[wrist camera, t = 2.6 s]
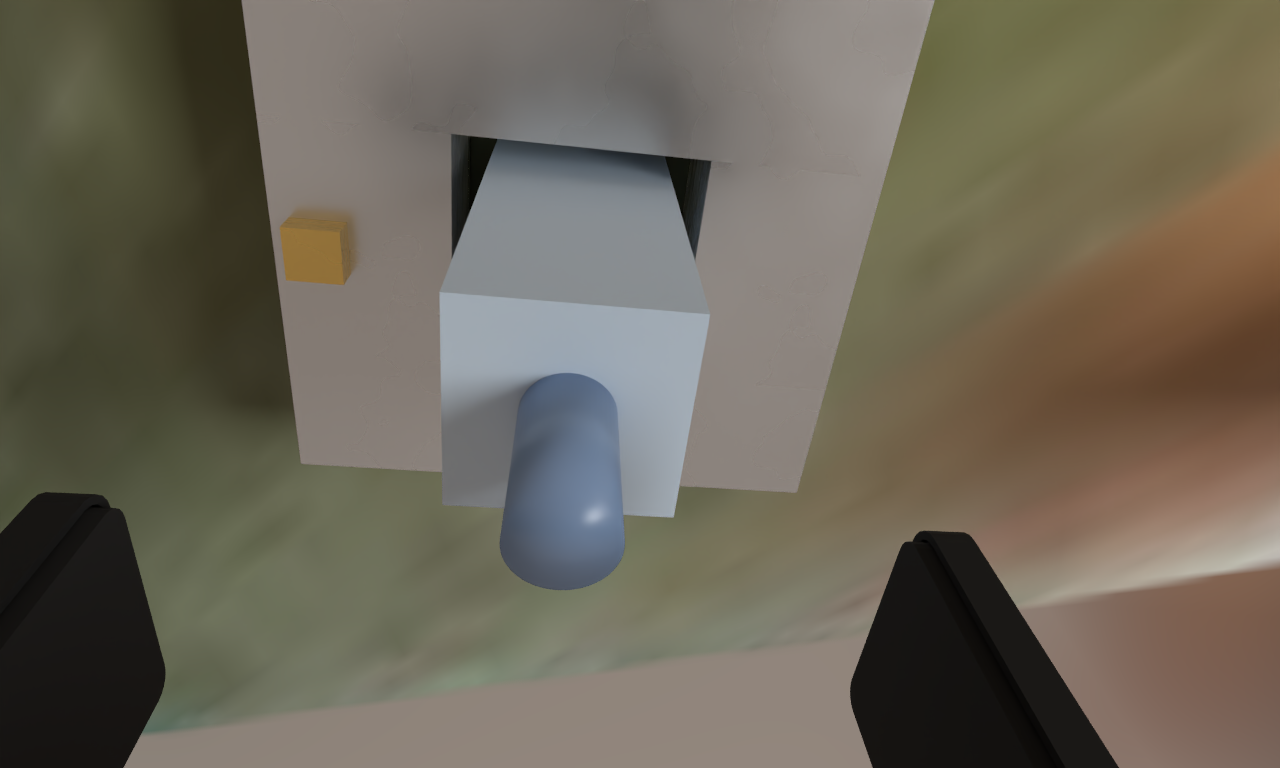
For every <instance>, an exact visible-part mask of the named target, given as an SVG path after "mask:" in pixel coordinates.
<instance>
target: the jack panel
mask: <svg viewBox="0 0 1280 768" xmlns="http://www.w3.org/2000/svg"><path fill="white" fill-rule="evenodd" d="M933 4H934V0H242V7H243V15H244V23H245V31H246V38H247V46H248V54H249V62H250V70H251V77H252V85H253V93H254V101H255V109H256V116H257V124H258V132H259V140H260V147H261V155H262V163H263V171H264V179H265V186H266V194H267V202H268V210H269V217H270V225H271V233H272V241H273V249H274V256H275V264H276V272H277V280H278V287H279V295H280V303H281V311H282V319H283V326H284V334H285V342H286V350H287V358H288V365H289V373H290V381H291V389H292V396H293V404H294V412H295V420H296V428H297V435H298V443H299V451H300V459H301V464H314V465H332V466H349V467H366V468H383V469H400V470H417V471H434V472H442V431H441V360H440V290H441V287H442V284H443V282H444V279H445V276H446V274H447V271H448V268H449V266H450V263H451V261H452V258H453V255H454V253H455V250H456V247H457V245H458V242H459V239H460V237H461V234H462V231H463V229H464V226H465V224H466V221H467V218H468V216H469V160H470V136H476V137H486V138H496V139H505V140H515V141H525V142H534V143H544V144H554V145H563V146H573V147H583V148H592V149H602V150H612V151H621V152H631V153H641V154H650V155H660V156H670V157H679V158H689V159H690V166H689V172H688V179H687V186H686V192H685V199H684V206H683V212H682V218H683V222H684V225H685V229H686V232H687V236H688V239H689V242H690V246H691V249H692V253H693V256H694V260H695V263H696V267H697V270H698V274H699V277H700V280H701V284H702V287H703V291H704V294H705V298H706V301H707V305H708V308H709V312H710V319H709V325H708V330H707V336H706V341H705V347H704V352H703V358H702V363H701V369H700V374H699V380H698V385H697V391H696V396H695V402H694V407H693V413H692V418H691V424H690V429H689V435H688V440H687V446H686V451H685V457H684V463H683V468H682V474H681V479H680V485H679V486H691V487H708V488H725V489H742V490H759V491H776V492H793V493H797V490H798V486H799V482H800V479H801V475H802V472H803V468H804V465H805V461H806V457H807V454H808V450H809V447H810V443H811V440H812V436H813V432H814V429H815V425H816V422H817V418H818V415H819V411H820V407H821V404H822V400H823V397H824V393H825V390H826V386H827V382H828V379H829V375H830V372H831V368H832V365H833V361H834V357H835V354H836V350H837V347H838V343H839V340H840V336H841V332H842V329H843V325H844V322H845V318H846V315H847V311H848V307H849V304H850V300H851V297H852V293H853V290H854V286H855V282H856V279H857V275H858V272H859V268H860V265H861V261H862V257H863V254H864V250H865V247H866V243H867V240H868V236H869V232H870V229H871V225H872V222H873V218H874V215H875V211H876V207H877V204H878V200H879V197H880V193H881V190H882V186H883V182H884V179H885V175H886V172H887V168H888V165H889V161H890V157H891V154H892V150H893V147H894V143H895V140H896V136H897V132H898V129H899V125H900V122H901V118H902V115H903V111H904V107H905V104H906V100H907V97H908V93H909V90H910V86H911V82H912V79H913V75H914V72H915V68H916V65H917V61H918V57H919V54H920V50H921V47H922V43H923V40H924V36H925V32H926V29H927V25H928V22H929V18H930V15H931V11H932V7H933Z"/></svg>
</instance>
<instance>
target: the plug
mask: <svg viewBox="0 0 1280 768" xmlns="http://www.w3.org/2000/svg"><path fill="white" fill-rule="evenodd" d="M709 319H710V312H709V308H708V305H707V301H706V298H705V294H704V291H703V287H702V284H701V280H700V277H699V274H698V270H697V267H696V263H695V260H694V256H693V253H692V249H691V246H690V242H689V239H688V236H687V232H686V229H685V225H684V222H683V218H682V215H681V211H680V208H679V204H678V201H677V198H676V194H675V191H674V187H673V184H672V180H671V177H670V173H669V170H668V166H667V163H666V159H665V156H660V155H650V154H641V153H631V152H621V151H612V150H602V149H592V148H583V147H573V146H563V145H554V144H544V143H534V142H525V141H515V140H505V139H497V142H496V144H495V147H494V149H493V152H492V155H491V157H490V160H489V163H488V165H487V168H486V171H485V173H484V176H483V179H482V181H481V184H480V186H479V189H478V192H477V194H476V197H475V200H474V202H473V205H472V208H471V210H470V213H469V216H468V218H467V221H466V224H465V226H464V229H463V231H462V234H461V237H460V239H459V242H458V245H457V247H456V250H455V253H454V255H453V258H452V261H451V263H450V266H449V268H448V271H447V274H446V276H445V279H444V282H443V284H442V287H441V290H440V360H441V431H442V502H443V505H453V506H472V507H490V508H504V514H503V522H502V529H501V536H500V550H501V555H502V557H503V559H504V561H505V563H506V565H507V566H508V567H509V568H510V570H511V571H512V572H513V573H515V574H516V575H517V576H518V577H520V578H521V579H522V580H524V581H526V582H528V583H530V584H533V585H535V586H538V587H542V588H546V589H553V590H572V589H578V588H583V587H586V586H589V585H592V584H594V583H596V582H598V581H600V580H602V579H603V578H605V577H606V576H608V575H609V574H610V573H611V572H612V571H613V570H614V569H615V568H616V567H617V565H618V564H619V562H620V560H621V558H622V556H623V552H624V547H625V538H624V520H623V515H638V516H656V517H674V512H675V507H676V501H677V496H678V490H679V485H680V479H681V474H682V468H683V463H684V457H685V451H686V446H687V440H688V435H689V429H690V424H691V418H692V413H693V407H694V402H695V396H696V391H697V385H698V380H699V374H700V369H701V363H702V358H703V352H704V347H705V341H706V336H707V330H708V325H709Z"/></svg>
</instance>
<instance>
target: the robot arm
mask: <svg viewBox="0 0 1280 768" xmlns="http://www.w3.org/2000/svg"><path fill="white" fill-rule="evenodd" d="M164 682H165V664H164V661H163V657H162V653H161V650H160V646H159V642H158V638H157V635H156V631H155V627H154V624H153V620H152V616H151V612H150V609H149V605H148V601H147V598H146V594H145V590H144V586H143V583H142V579H141V575H140V572H139V568H138V564H137V560H136V557H135V553H134V549H133V546H132V542H131V538H130V534H129V531H128V527H127V523H126V520H125V517H124V514H123V512H122V511H121V510H120V509H116V508H110V505H109V503H108V501H107V500H106V499H105V498H104V497H103V496H101V495H96V494H73V493H50V492H45V493H42V494H39V495H37V496H36V497H35V498H33V499H32V500H31V501H30V502H29V503H28V504H27V505H26V506H25V507H24V508H23V510H22V511H21V512H20V513H19V514H18V515H17V516H16V517H15V518H14V519H13V520H12V521H11V523H10V524H9V525H8V526H7V527H6V528H5V529H4V530H3V531H2V532H1V533H0V768H123V767H124V766H125V764H126V762H127V760H128V758H129V756H130V754H131V752H132V750H133V748H134V747H135V744H136V743H137V741H138V739H139V737H140V735H141V733H142V731H143V729H144V728H145V726H146V724H147V722H148V720H149V718H150V716H151V714H152V712H153V710H154V709H155V707H156V705H157V703H158V701H159V699H160V696H161V694H162V691H163V687H164ZM850 696H851V697H850V698H851V705H852V709H853V712H854V715H855V718H856V721H857V724H858V727H859V729H860V732H861V735H862V738H863V741H864V744H865V747H866V750H867V752H868V755H869V758H870V761H871V764H872V767H873V768H1119V767H1118V766H1117V764H1116V763H1115V761H1114V759H1113V758H1112V756H1111V755H1110V753H1109V751H1108V750H1107V749H1106V747H1105V745H1104V744H1103V742H1102V741H1101V739H1100V738H1099V736H1098V734H1097V733H1096V731H1095V730H1094V728H1093V726H1092V725H1091V723H1090V722H1089V720H1088V719H1087V717H1086V715H1085V714H1084V712H1083V711H1082V709H1081V708H1080V706H1079V705H1078V703H1077V701H1076V700H1075V698H1074V697H1073V695H1072V693H1071V692H1070V690H1069V689H1068V687H1067V685H1066V684H1065V682H1064V681H1063V679H1062V678H1061V676H1060V675H1059V673H1058V671H1057V670H1056V668H1055V667H1054V665H1053V664H1052V662H1051V660H1050V659H1049V657H1048V656H1047V654H1046V653H1045V651H1044V649H1043V648H1042V646H1041V645H1040V643H1039V641H1038V640H1037V638H1036V637H1035V635H1034V634H1033V632H1032V630H1031V629H1030V627H1029V626H1028V624H1027V623H1026V621H1025V619H1024V618H1023V616H1022V615H1021V613H1020V612H1019V610H1018V608H1017V607H1016V605H1015V604H1014V602H1013V601H1012V599H1011V597H1010V596H1009V594H1008V593H1007V591H1006V590H1005V588H1004V586H1003V585H1002V583H1001V582H1000V580H999V579H998V577H997V575H996V574H995V572H994V571H993V569H992V568H991V566H990V564H989V563H988V561H987V560H986V558H985V556H984V555H983V553H982V552H981V550H980V549H979V547H978V545H977V544H976V542H975V541H974V540H973V539H972V537H971V536H970V535H968V534H966V533H963V532H940V531H920V532H919V533H918V534H917V535H916V536H915V538H914V540H913V542H905V543H904V544H903V545H902V547H901V549H900V551H899V554H898V556H897V559H896V562H895V564H894V567H893V570H892V572H891V575H890V578H889V581H888V583H887V586H886V589H885V591H884V594H883V597H882V599H881V602H880V605H879V608H878V610H877V613H876V616H875V618H874V621H873V624H872V626H871V629H870V632H869V635H868V637H867V640H866V643H865V645H864V648H863V651H862V654H861V656H860V659H859V662H858V664H857V667H856V670H855V673H854V675H853V678H852V681H851V688H850Z"/></svg>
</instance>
